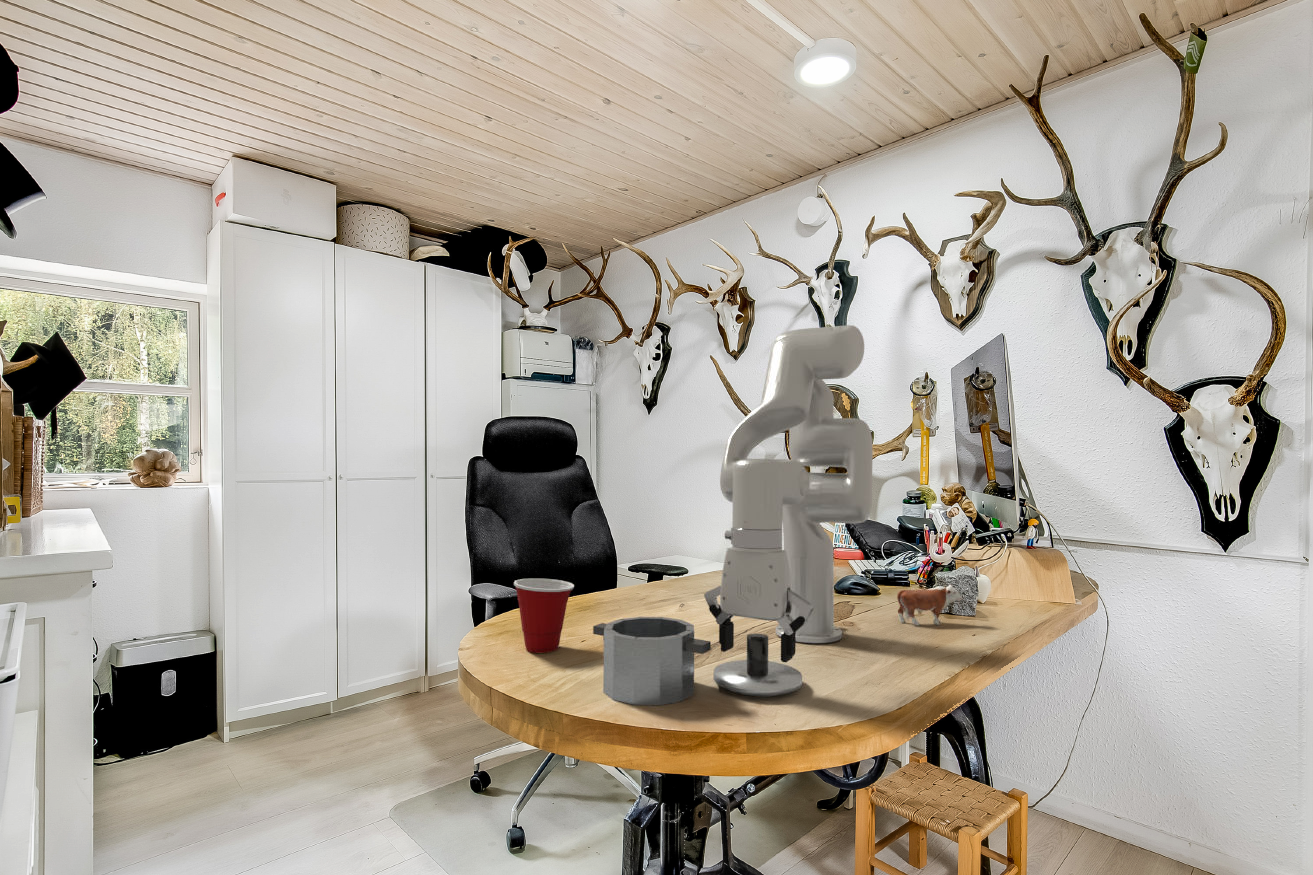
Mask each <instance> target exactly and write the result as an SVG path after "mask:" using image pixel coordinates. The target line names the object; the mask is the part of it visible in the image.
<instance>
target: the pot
mask: <svg viewBox="0 0 1313 875" xmlns="http://www.w3.org/2000/svg"><path fill="white" fill-rule="evenodd" d="M592 627H593V628H592V635H596V636H602V637H603V636H604V640H603V681H602V682H603V683H602V686H603V687H602V688H603V690H602V691H603V693H604V694H605V695H606V696H608V697H609V698H611V700H613V701H617V702H621V703H624V704H629V705H632V706H665V705H669V704H673V703H674V704H675V703H680V702H683V701H685V700H687V699H688V698H689V697H692V696H693V695H694V694H695V654H701V655H704V654H706V653H708V652H710V651H712V649H711V648H712V647H711V645H712V644H711V643H712V642H711V641H710V640H704V639H698V638H695V628H694V627H695V625H694V624H692V623H690V622H687V621H685V620H683V619H678V618H677V619H676V618H671V617H665V616H635V617H634V616H633V617H627V618H626V617H625V618H619V619H616V620H614V621H611V622H608V623H604V622H601V623H599V624H596V625H593V626H592Z"/></svg>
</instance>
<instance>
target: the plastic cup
mask: <svg viewBox="0 0 1313 875" xmlns="http://www.w3.org/2000/svg"><path fill="white" fill-rule="evenodd" d="M513 586H514V587H515V591H516V595H517V601H518V608H519V615H520V623H521V629H522V633H523V640H524V647H525V649H526V651H527V652H530V653H531V654H533V653H535V654H546V653H551V652H555V651H557V650H558V649H559V645H560V642H561V641H560V640H561V634H562V631H563V628H564V627H563V626H564V620H565V616H566V615H565V614H566V611H567V606H568V605H567V603H568V601H569V597H570V594H571V593H572V590H573V589H574V587H575V584H573V583H572V582H569V581H566V580H565V581H564V580H561V579H560V580H559V579H551V578H522V579H517V580H514V582H513Z"/></svg>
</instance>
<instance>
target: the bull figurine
mask: <svg viewBox="0 0 1313 875" xmlns="http://www.w3.org/2000/svg"><path fill="white" fill-rule="evenodd" d="M896 597H897V602H898V605H899V608H898V610H897V613H898V617H899V618H898V619H899V621H900V622H901V623H902V624H905V623H906V620H907V621H909V619H911V621H912V624H913V625H915V626H916V627H918V626H919V627H920V626H921V624H920V622H919V621H918V620H917V618H916V616H915V611H917V613H918V615H922V613H923V612H926V611H930V612H931V613H932V615H933V624H935V625H936V626H940V625H941V620H940V619H939V617H940V614H941V613H942V612H943V611H944V610H945V608H946V607H948V605H949V603H954V602H955V601H961V600H962V598H963V596H961V595H960V593H959V591H958V590H957V589H956V588H955V587H954V586H953V585H951V584H949V585H948V586H942V585H938V586H936V587H932V588H931V587H930V588H928V589H901V590H899V591H898V593H897V596H896ZM905 619H906V620H905Z"/></svg>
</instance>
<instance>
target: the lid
mask: <svg viewBox="0 0 1313 875" xmlns="http://www.w3.org/2000/svg"><path fill="white" fill-rule="evenodd" d="M713 681H714V682H715V683H716V685H718V686H720V687H721V688H723V689H725V690H728V691H731V692H734V693H737V694H740V695H744V696H749V697H757V698H758V697H762V698H763V697H764V698H767V697H768V698H769V697H775V696H780V695H785V694H789V693H790V694H791V693H793V692H795V691H797V690H799V689H800V688H801V687H802V685H803V675H802V673H801V671H800V670H798V669H796V668H794V667H793V666H790V665H787V664H784V663H780V662H777V661H775V662H774V661H769V636H768V635H767V634H764V633H749V634H747V635H746V659H743V660H742V659H741V660H740V659H739V660H732V661H727V662H724V663H720V664H719V665H717V666H715V667H714V669H713Z"/></svg>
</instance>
